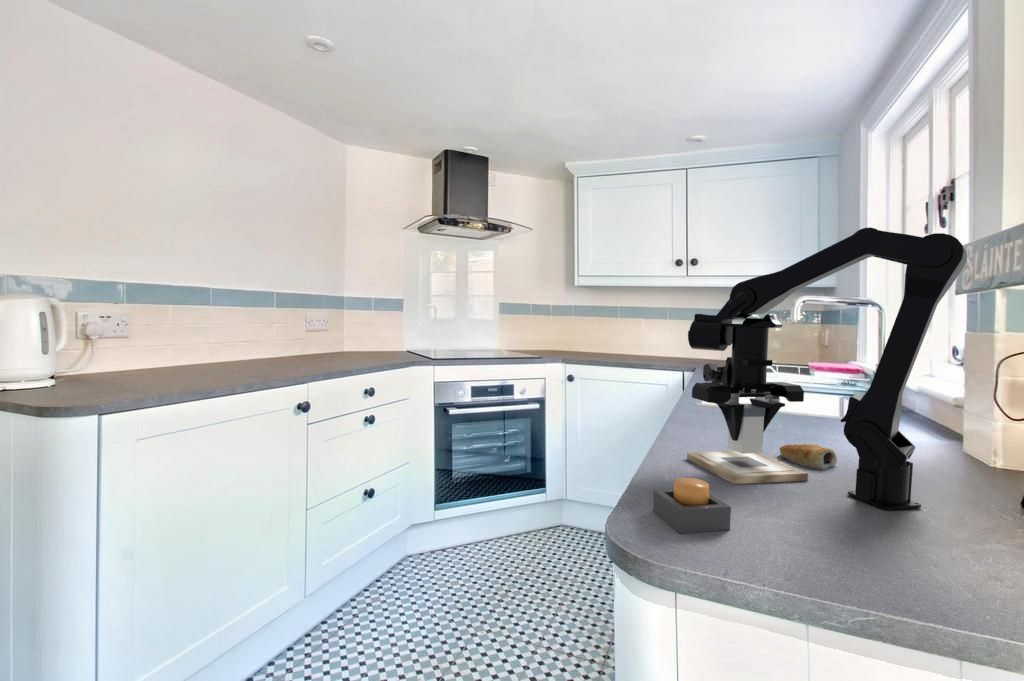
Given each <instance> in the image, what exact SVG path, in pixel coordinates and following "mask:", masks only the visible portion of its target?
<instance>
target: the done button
mask: <svg viewBox="0 0 1024 681" xmlns="http://www.w3.org/2000/svg"><path fill="white" fill-rule="evenodd" d="M673 489H674V492H673V499H674V500H676V501H677V502H678V503H680V504H681V505H684V506H698V505H708V503H709V494H710V483H708V482H707V481H704V480H703V479H702V480H701V479H697V478H692V477H679V478H675V479H674V480H673Z"/></svg>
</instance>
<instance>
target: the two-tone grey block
mask: <svg viewBox="0 0 1024 681" xmlns="http://www.w3.org/2000/svg"><path fill="white" fill-rule="evenodd" d="M743 404H744V411H743V416H742V422H741V428H740V433H739V437H738V440H737V441H734V440H732V438H731V435H730V432H729V431H727V432H728V434H727V435H728V437H727V448H728V449H731V451H737V452H739V453H742V454H746V453H760V454H762V453H763V448H764V447H763V446H764V445H763V444H764V433H763V429H764V416H765V408H764V407H760V406H757V405H753V404H751V403H743Z"/></svg>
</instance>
